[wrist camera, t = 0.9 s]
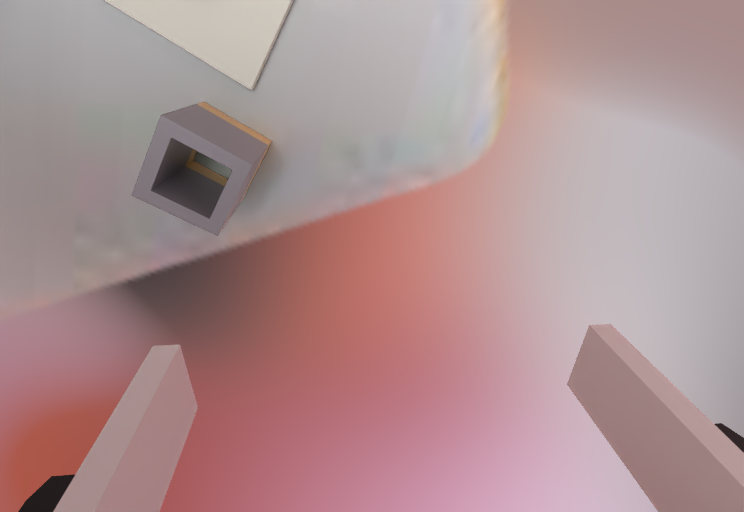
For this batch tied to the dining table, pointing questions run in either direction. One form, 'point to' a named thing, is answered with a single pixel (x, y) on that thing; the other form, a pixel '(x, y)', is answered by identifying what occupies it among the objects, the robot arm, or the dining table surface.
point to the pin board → (216, 30)
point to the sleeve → (191, 180)
